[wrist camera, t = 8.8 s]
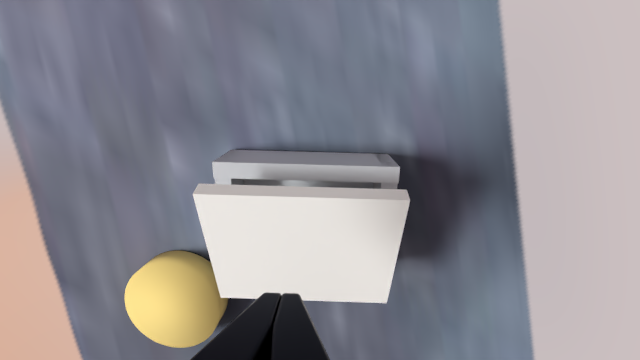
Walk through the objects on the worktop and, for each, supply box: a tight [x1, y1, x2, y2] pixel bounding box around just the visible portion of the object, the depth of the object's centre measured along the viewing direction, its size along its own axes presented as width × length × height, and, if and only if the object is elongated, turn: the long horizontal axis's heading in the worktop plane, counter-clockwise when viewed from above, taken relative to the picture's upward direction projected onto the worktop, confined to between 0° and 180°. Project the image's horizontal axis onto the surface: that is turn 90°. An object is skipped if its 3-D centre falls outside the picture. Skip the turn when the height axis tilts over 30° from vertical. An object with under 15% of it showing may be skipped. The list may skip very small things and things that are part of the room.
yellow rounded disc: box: [125, 251, 228, 348], centre depth 21 cm, size 6×6×2 cm
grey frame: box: [212, 150, 400, 189], centre depth 18 cm, size 7×9×3 cm
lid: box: [193, 184, 410, 303], centre depth 15 cm, size 7×9×1 cm
